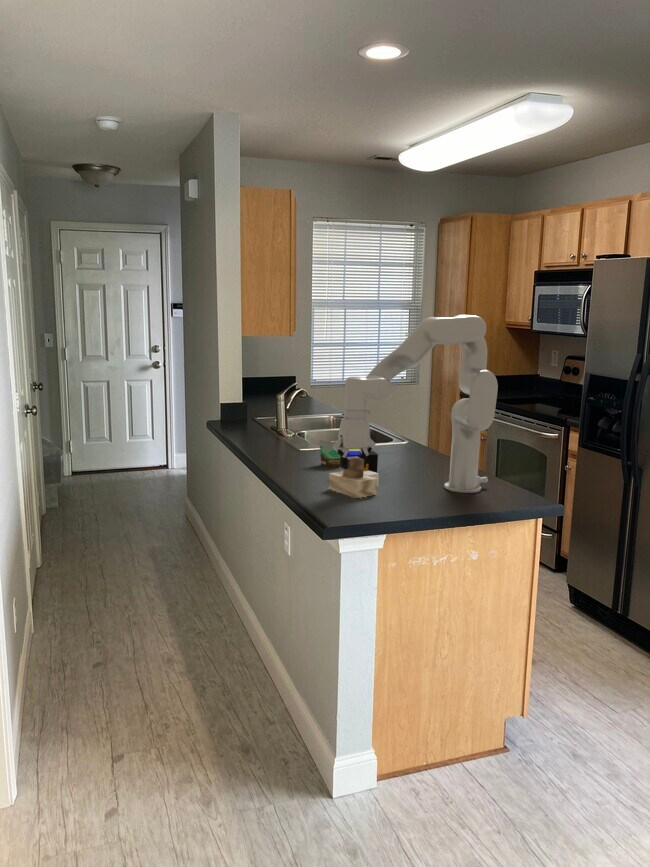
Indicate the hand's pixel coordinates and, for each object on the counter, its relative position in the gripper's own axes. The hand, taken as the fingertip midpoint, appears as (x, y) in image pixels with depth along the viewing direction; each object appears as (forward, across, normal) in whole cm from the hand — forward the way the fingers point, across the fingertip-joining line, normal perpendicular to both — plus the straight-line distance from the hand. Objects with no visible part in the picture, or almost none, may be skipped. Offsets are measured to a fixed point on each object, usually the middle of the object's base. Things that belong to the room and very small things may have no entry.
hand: (353, 467), depth 238 cm
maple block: (+9, 0, 0) cm, 9 cm away
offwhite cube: (+9, -9, -5) cm, 14 cm away
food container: (+9, -13, -37) cm, 40 cm away
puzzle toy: (+9, -12, -16) cm, 22 cm away
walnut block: (+3, 0, 0) cm, 3 cm away
